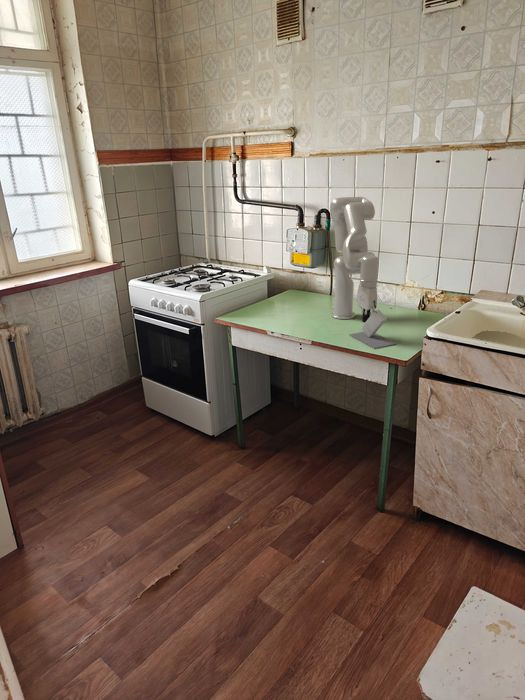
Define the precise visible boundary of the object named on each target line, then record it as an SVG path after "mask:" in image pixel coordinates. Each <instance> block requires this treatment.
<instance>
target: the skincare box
mask: <svg viewBox="0 0 525 700" xmlns="http://www.w3.org/2000/svg"><path fill="white" fill-rule="evenodd" d="M387 320H388V317H387V316H386V315H385V314H384V313H383V312H382V311H381V310H380V309H377V310H375V311H374V312H373V313H371V314H370V317H369V319H368V320H367V321H366V322H365V323H364V324H363V325H362V326H361V327H360V329H361V331H362V332H364V333H365V334H366V335H367V336H368V337H371V336H373V335H374V334H375V333H376V334H377V332H378V330H379V329H380V328H381V327H382V326H383V324H384V323H385V322H386V321H387Z"/></svg>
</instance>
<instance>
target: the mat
mask: <svg viewBox="0 0 525 700" xmlns="http://www.w3.org/2000/svg"><path fill="white" fill-rule="evenodd" d="M349 335H350V337H351V336H352V337H351V338H352V339H354V340H357V341H358V340H359V342H360V341H361V342H360V343H362V344H365V345H366V346H368V347H370V348H371V347H372V349H373V348H374V350H376V348H377V349H381V347H382V348H385V347H391V346H395V345H397V344H398V343H397V342H394V341H393V340H390V339H388V338H386V337H384V336H383V335H380V334H378V333H377V332H376V333H375V334H374V335H373V336H371V337H368V336H367V335H366V334H365V333H364V331H359V332H356V333H355V332H353V333H349V334H348V336H349Z"/></svg>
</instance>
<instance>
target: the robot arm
mask: <svg viewBox="0 0 525 700" xmlns="http://www.w3.org/2000/svg"><path fill="white" fill-rule="evenodd" d="M329 213H330V218H331V219H332V223H333V227H334V241H335V242H334V243H335V250H336V252H337V253H339V254H342V256H341V255H340V256H338V257H336V258H335V259H334V261H333V271H334V279H335V280H334V281H335V282H334V305H332V307H331V308H332V309H333V311H332V312H331V314H330V315H331V317H332V318H334V319H337V320H349V319H350V320H351V319H354V318H355V317H356V313H355V312H354V311H353V310H354V309H353V308H354V288H355V287H354V280H353V279H352V278H351V277H350V276H351V275H360V276H359V285H358V288H357V294H356V302H355V303H356V305H357V306H358V307H359V308H360V309H361V313H362V316H361V321H362V323H364V324H365V322H366V321H367V320H368V319H369V317H370V316H371V315H372V313H373V312H374V311H376V309H377V305H378V288H377V284H378V273H379V257H378V256H376V255H375V253H374V252H373V251H369V250H368V246H369V245H368V241H367V237H366V235H367V231H368V230H367V227H366V222H365V221H371V220H373V219H374V217H375V215H376V211H375V206H374V204H373V202H371V200H369V199H368V198H366V197H365V196H345V197H343V196H341V197H336V198H334V199H332V200H331V202H330V205H329Z"/></svg>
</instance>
